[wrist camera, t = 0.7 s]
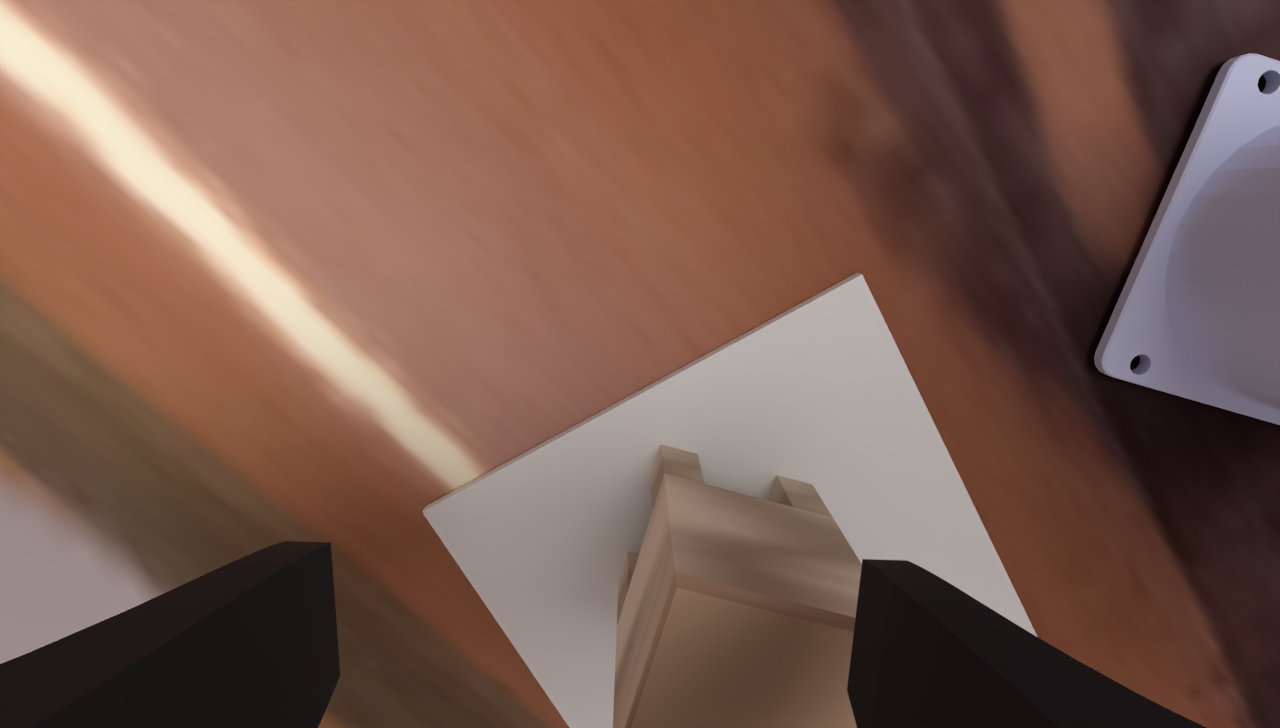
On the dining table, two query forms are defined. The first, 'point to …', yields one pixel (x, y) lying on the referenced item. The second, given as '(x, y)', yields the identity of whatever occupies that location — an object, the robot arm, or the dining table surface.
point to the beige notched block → (735, 608)
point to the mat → (717, 485)
